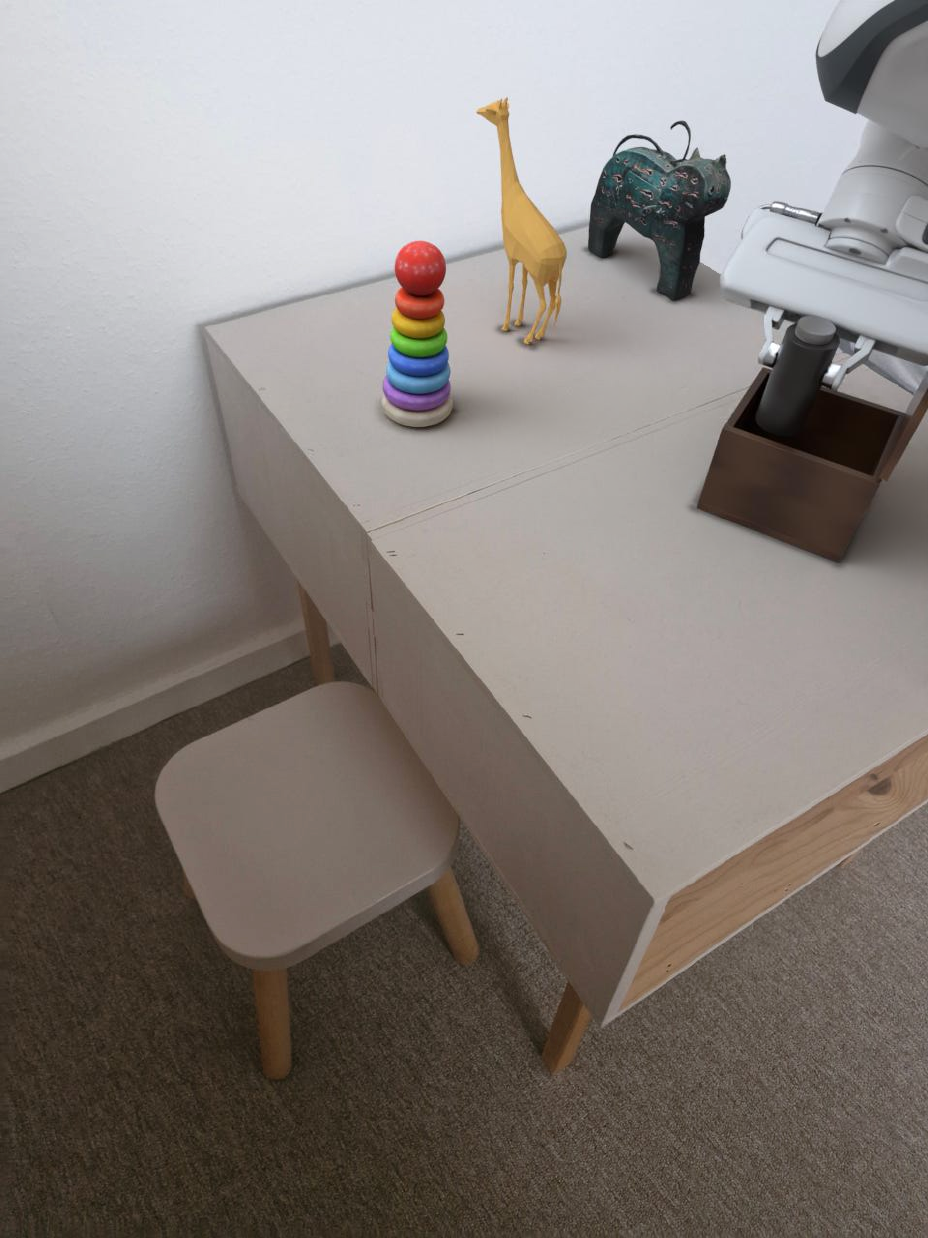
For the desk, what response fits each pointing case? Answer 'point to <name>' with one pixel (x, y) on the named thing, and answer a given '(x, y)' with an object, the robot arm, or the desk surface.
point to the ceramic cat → (659, 206)
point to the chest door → (907, 428)
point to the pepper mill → (797, 376)
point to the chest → (801, 470)
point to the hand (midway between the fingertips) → (797, 375)
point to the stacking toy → (418, 341)
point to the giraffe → (525, 231)
